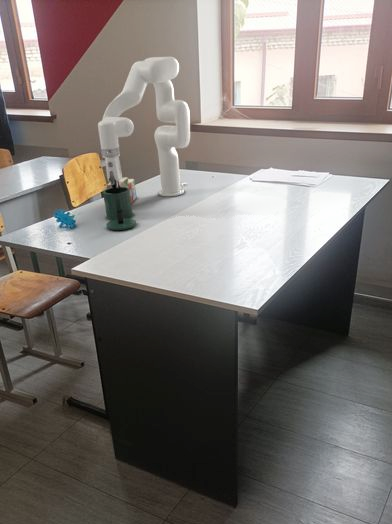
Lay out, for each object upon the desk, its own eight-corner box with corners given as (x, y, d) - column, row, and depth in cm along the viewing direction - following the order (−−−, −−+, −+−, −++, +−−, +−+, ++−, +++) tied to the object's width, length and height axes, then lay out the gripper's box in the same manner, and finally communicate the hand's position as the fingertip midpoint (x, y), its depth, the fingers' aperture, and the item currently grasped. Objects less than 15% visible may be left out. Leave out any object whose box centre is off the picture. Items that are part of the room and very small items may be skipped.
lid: (124, 219, 223) (122, 205, 219) (142, 225, 215) (140, 210, 211) (100, 227, 216) (98, 212, 212) (118, 233, 208) (116, 217, 204)
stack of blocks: (125, 198, 253) (121, 172, 246) (137, 198, 252) (134, 172, 245) (110, 211, 235) (106, 184, 229) (123, 211, 234) (119, 184, 228)
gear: (65, 228, 212) (50, 209, 212) (58, 237, 215) (44, 218, 216) (82, 224, 220) (69, 206, 221) (76, 232, 224) (63, 214, 224)
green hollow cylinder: (122, 211, 234) (119, 185, 228) (138, 215, 227) (134, 189, 221) (101, 217, 228) (97, 191, 222) (117, 222, 220) (113, 195, 214)
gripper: (116, 155, 206) (122, 201, 216) (122, 148, 220) (127, 191, 229) (98, 156, 206) (105, 202, 216) (105, 149, 220) (111, 192, 230)
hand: (116, 196), depth 222 cm, fingers closed on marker, 2 cm apart
